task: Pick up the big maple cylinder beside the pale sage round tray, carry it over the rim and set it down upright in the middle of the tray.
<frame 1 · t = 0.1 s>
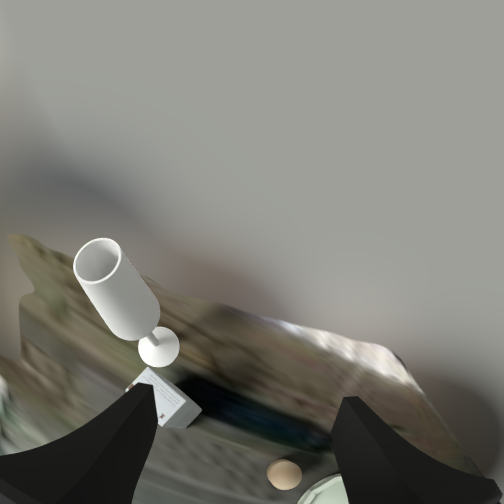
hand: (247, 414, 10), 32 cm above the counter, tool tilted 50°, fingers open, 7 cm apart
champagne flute: (158, 347, 42), on the counter
skincare box: (177, 406, 37), on the counter
maple cylinder: (280, 471, 32), on the counter
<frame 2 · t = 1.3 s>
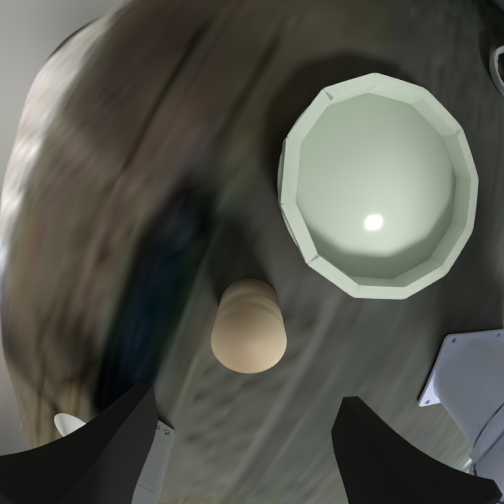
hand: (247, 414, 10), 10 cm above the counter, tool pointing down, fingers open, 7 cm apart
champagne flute: (78, 433, 24), on the counter
skincare box: (145, 431, 23), on the counter
maple cylinder: (249, 306, 20), on the counter
round tray: (380, 186, 18), on the counter
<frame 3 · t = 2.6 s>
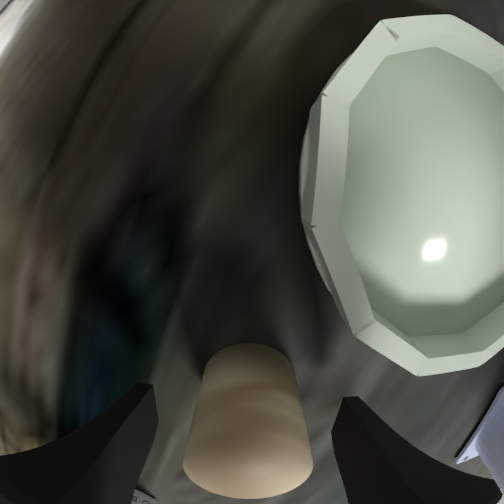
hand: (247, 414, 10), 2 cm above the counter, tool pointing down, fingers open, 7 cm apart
skincare box: (122, 494, 15), on the counter
maple cylinder: (249, 381, 12), on the counter
round tray: (456, 193, 10), on the counter
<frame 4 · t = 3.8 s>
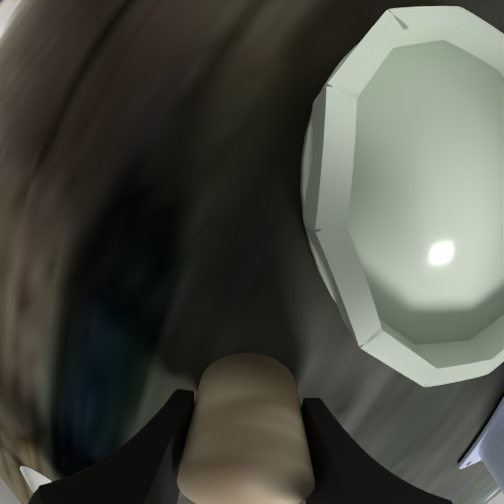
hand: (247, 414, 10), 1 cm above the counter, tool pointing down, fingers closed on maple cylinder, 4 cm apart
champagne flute: (48, 486, 15), on the counter
maple cylinder: (247, 391, 11), on the counter, touching gripper
round tray: (465, 193, 9), on the counter
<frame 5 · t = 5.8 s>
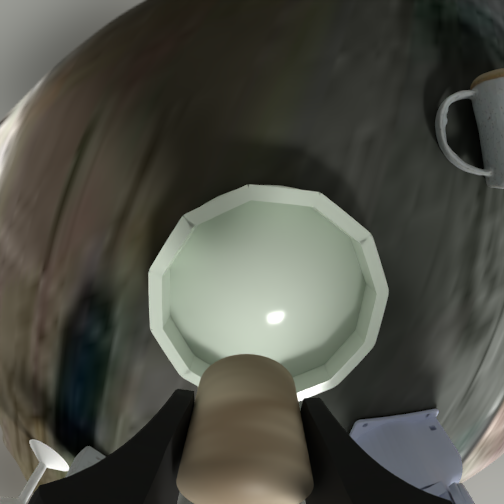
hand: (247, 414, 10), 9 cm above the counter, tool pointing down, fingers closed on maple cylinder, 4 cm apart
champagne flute: (49, 455, 25), on the counter
skincare box: (96, 460, 24), on the counter
maple cylinder: (247, 392, 11), point 8 cm above the counter, touching gripper
round tray: (267, 297, 19), on the counter
ceramic mug: (479, 137, 16), on the counter
when the fingers open (3 cm above the counter, at t = 7.9 s): maple cylinder drops 1 cm, resting on round tray.
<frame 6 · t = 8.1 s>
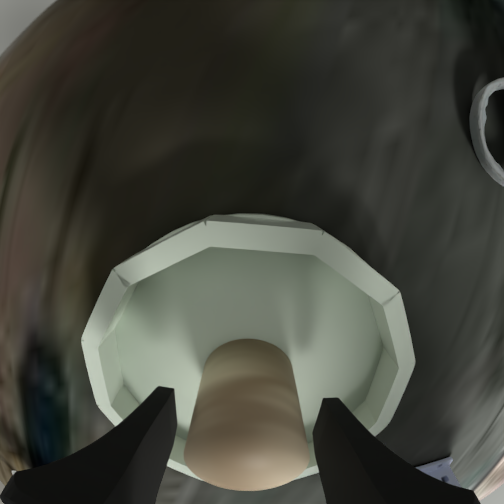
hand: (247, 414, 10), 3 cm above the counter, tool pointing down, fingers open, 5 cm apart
maple cylinder: (248, 376, 12), point 1 cm above the counter, touching round tray
round tray: (248, 365, 13), on the counter
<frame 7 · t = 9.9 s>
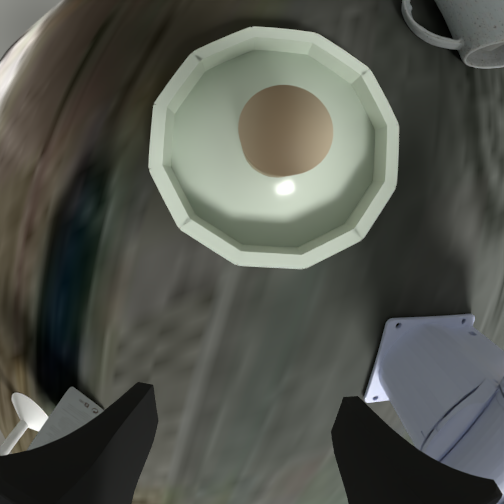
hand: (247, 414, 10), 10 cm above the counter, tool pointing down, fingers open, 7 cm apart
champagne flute: (32, 413, 23), on the counter
skincare box: (82, 410, 22), on the counter
maple cylinder: (276, 143, 16), point 1 cm above the counter, touching round tray
round tray: (275, 144, 17), on the counter
ceramic mug: (449, 30, 15), on the counter
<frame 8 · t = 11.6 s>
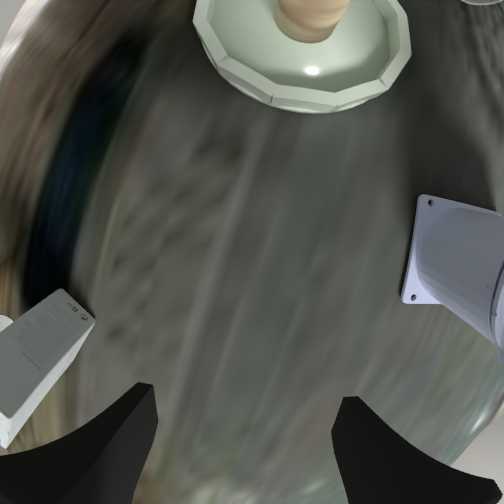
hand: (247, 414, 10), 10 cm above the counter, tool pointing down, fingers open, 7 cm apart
skincare box: (69, 326, 21), on the counter
maple cylinder: (304, 20, 15), point 1 cm above the counter, touching round tray
round tray: (302, 25, 15), on the counter
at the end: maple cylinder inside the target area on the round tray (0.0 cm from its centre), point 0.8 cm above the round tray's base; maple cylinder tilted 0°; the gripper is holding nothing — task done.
